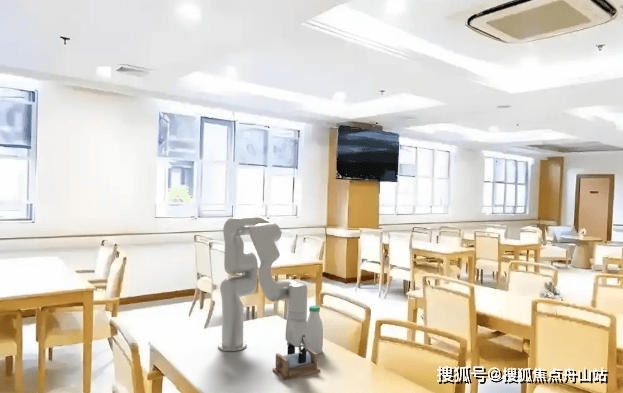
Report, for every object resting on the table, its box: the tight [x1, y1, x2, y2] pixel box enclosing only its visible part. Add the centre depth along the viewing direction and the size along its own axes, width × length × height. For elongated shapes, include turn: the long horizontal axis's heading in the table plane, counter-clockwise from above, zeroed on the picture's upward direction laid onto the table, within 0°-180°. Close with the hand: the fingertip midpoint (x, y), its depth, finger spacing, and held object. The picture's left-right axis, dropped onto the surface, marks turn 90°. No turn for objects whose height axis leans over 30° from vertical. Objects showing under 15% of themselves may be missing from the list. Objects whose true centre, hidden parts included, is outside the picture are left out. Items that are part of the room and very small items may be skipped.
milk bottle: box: [306, 305, 324, 355], centre depth 193 cm, size 8×8×20 cm
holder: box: [272, 348, 321, 381], centre depth 172 cm, size 10×16×7 cm, turn 122°
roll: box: [282, 351, 311, 369], centre depth 172 cm, size 10×6×6 cm, turn 122°
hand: (296, 358), depth 172 cm, fingers open, 8 cm apart
